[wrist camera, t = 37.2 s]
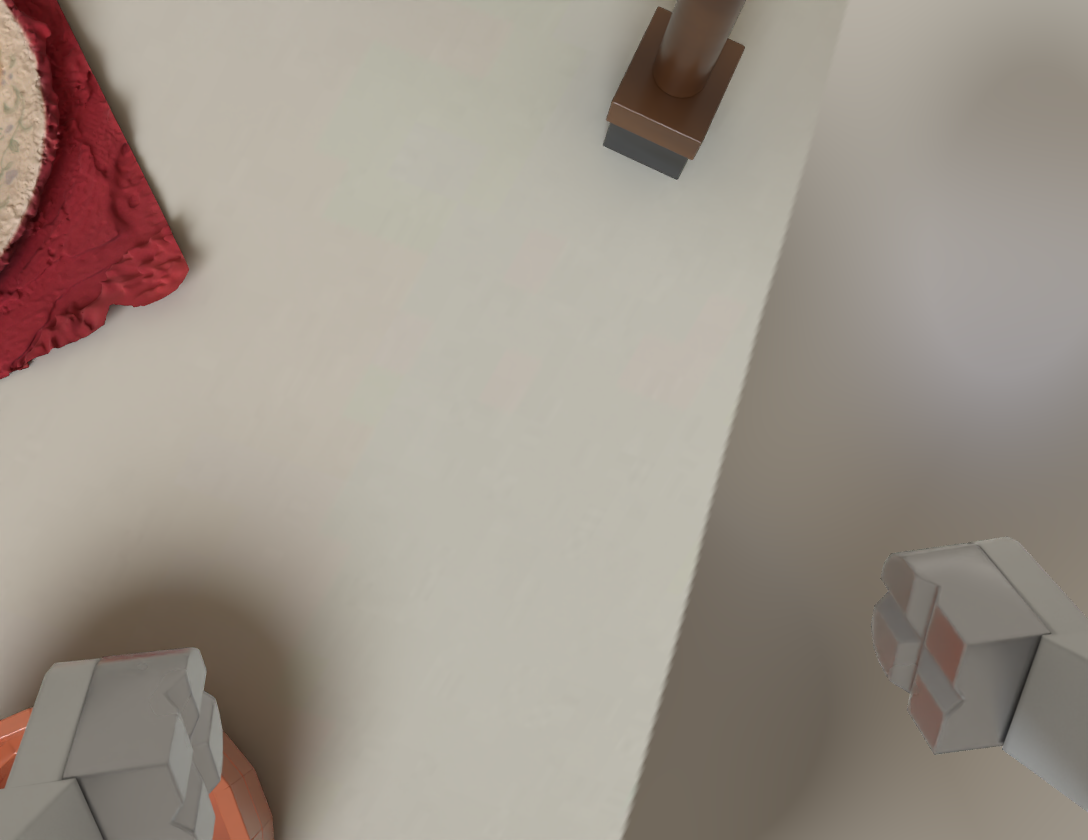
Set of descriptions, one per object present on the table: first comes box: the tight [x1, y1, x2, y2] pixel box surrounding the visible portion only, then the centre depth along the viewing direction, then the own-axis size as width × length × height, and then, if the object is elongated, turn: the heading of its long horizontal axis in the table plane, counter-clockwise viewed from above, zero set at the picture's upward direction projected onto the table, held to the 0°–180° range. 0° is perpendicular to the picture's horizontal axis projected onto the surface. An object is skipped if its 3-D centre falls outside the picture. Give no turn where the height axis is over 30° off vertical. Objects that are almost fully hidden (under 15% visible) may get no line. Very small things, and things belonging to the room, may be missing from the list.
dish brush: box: [603, 0, 746, 179], centre depth 38 cm, size 5×4×16 cm
